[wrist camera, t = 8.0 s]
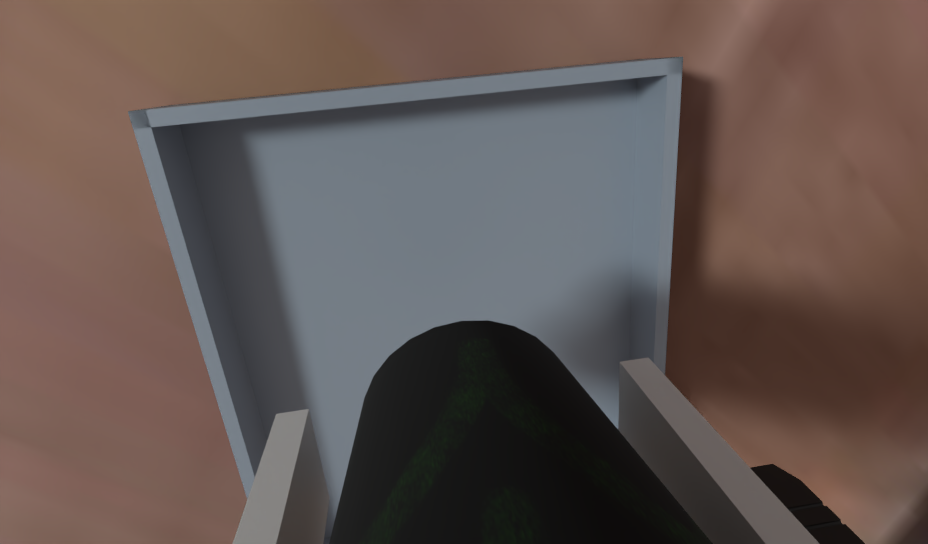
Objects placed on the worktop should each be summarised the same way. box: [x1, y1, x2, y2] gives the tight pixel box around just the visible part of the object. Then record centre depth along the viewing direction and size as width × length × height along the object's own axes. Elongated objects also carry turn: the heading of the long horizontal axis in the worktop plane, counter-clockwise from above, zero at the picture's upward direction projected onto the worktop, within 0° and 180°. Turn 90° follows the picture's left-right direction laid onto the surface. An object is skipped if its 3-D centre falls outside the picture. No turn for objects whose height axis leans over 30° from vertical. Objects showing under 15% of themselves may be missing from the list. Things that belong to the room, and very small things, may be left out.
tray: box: [128, 57, 683, 544], centre depth 21 cm, size 20×17×3 cm
